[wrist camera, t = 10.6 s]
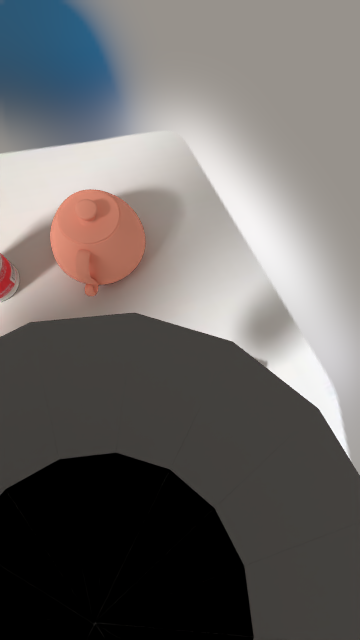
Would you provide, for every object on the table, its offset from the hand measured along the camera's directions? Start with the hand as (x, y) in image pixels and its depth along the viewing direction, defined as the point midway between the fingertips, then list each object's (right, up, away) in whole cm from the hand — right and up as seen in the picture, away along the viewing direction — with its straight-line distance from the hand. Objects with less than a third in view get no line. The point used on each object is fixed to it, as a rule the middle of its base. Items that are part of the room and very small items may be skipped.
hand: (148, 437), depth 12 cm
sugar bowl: (-10, +13, +35) cm, 38 cm away
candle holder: (0, -4, +15) cm, 16 cm away
